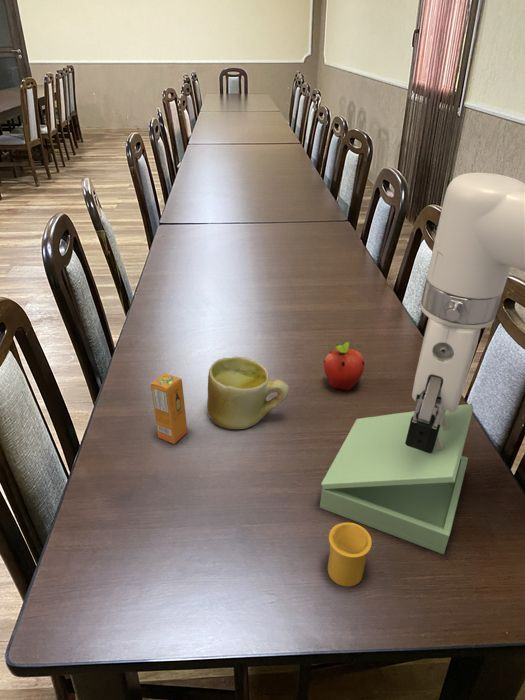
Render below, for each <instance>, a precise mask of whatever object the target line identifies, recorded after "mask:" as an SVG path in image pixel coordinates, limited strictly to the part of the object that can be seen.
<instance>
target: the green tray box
mask: <svg viewBox="0 0 525 700" xmlns="http://www.w3.org/2000/svg"><path fill="white" fill-rule="evenodd" d="M468 460H469V457H467V456H464V455H461V459H460V463H459V467H458V471H457V475H456V478H455V482H448V483H429V484H410V485H391V486H372V487H353V488H334V489H323V488H322V487H321V493H320V503H319V508H320V509H322V510H325V511H327V512H330V513H333V514H335V515H338V516H341V517H343V518H346V519H349V520H350V521H351V520H352V521H354V522H356V523H359V524H361V525H364V526H367V527H369V528H372V529H375V530H378V531H380V532H383V533H386V534H388V535H391V536H394V537H396V538H399V539H400V540H404V541H407V542H409V543H412V544H414V545H417V546H420V547H422V548H425V549H428V550H431V551H433V552H436V553H438V554H441V555H445V552H446V549H447V546H448V543H449V538H450V535H451V531H452V528H453V524H454V519H455V515H456V511H457V507H458V502H459V498H460V494H461V490H462V485H463V482H464V477H465V473H466V469H467V464H468Z"/></svg>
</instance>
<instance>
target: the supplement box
mask: <svg viewBox="0 0 525 700" xmlns="http://www.w3.org/2000/svg"><path fill="white" fill-rule="evenodd" d="M150 390H151V395H152V396H151V397H152V403H153V410H154V418H155V424H156V429H157V436H158V438H159V439H161V440H163V441H165V442H167V443H170V444H173V445H175V444H177V443H178V442H179V441H180V440H181V439H182V438H183V437H184V436H185V435H186V434H188V423H187V415H186V414H187V413H186V407H185V397H184V395H185V394H184V387H183V379H182V378H181V377H178V376H175V375H173V374H172V375H171V374H168V373H162V374H161V375H160V376H159V377H158V378H156V379H155V380H154V381H151V383H150Z"/></svg>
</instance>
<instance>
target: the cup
mask: <svg viewBox="0 0 525 700" xmlns="http://www.w3.org/2000/svg"><path fill="white" fill-rule="evenodd" d="M372 542H373V541H372V537H371V535H370V533H369V531H368V530H367V529H366V528H364V527H363V526H362V525H359V524H357V523H354V522H341V523H337V524H335V525H334V526H333V527H332V528H331V529H330V530H329V533H328V543H329V546H330V547H329V554H328V562H327V574H328V576H329V578H330V579H331V580H332V582H334V583H336V584H337V585H339V586H342V587H353V586H356V585H357V584H359V583H360V582H361V581H362V579H363V577H364V572H365V566H366V561H367V555H368V554H369V553H370V551H371V548H372V546H373V545H372V544H373V543H372Z"/></svg>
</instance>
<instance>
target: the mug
mask: <svg viewBox="0 0 525 700" xmlns="http://www.w3.org/2000/svg"><path fill="white" fill-rule="evenodd" d="M289 392H290V387H289V384H287V383H286V382H285V381H284V380H281V379H272V380H271V379H270V374H269V371H268V369H266V367H265V366H264V365H263V364H262V363H260V362H258V361H256V360H255V359H252V358H248V357H245V356H232V357H223V358H218V359H217V360H216V361H214V362H213V363H212V364H211V366H210V367H209V369H208V374H207V400H206V401H207V405H206V410H207V415H208V416H209V418H210V419H211V421H213V422H214V424H215V425H217V426H218V427H220V428H224V429H231V430H245V429H248V428H251V427H253V426H255V425H256V424H258V423H259V422H260V421H261V420H262V419H263V418H265V416H266V415H267V413H268V412H270V410H272V409H274V408H275V407H277V406H278V405H280V404H281V403H283V401H285V400H286V398H287V396H289ZM274 393H276V394H277V395H276V396H274V397H272V398H271V399H269V400H267V397H268V396H269V395H270V394H274Z"/></svg>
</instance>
